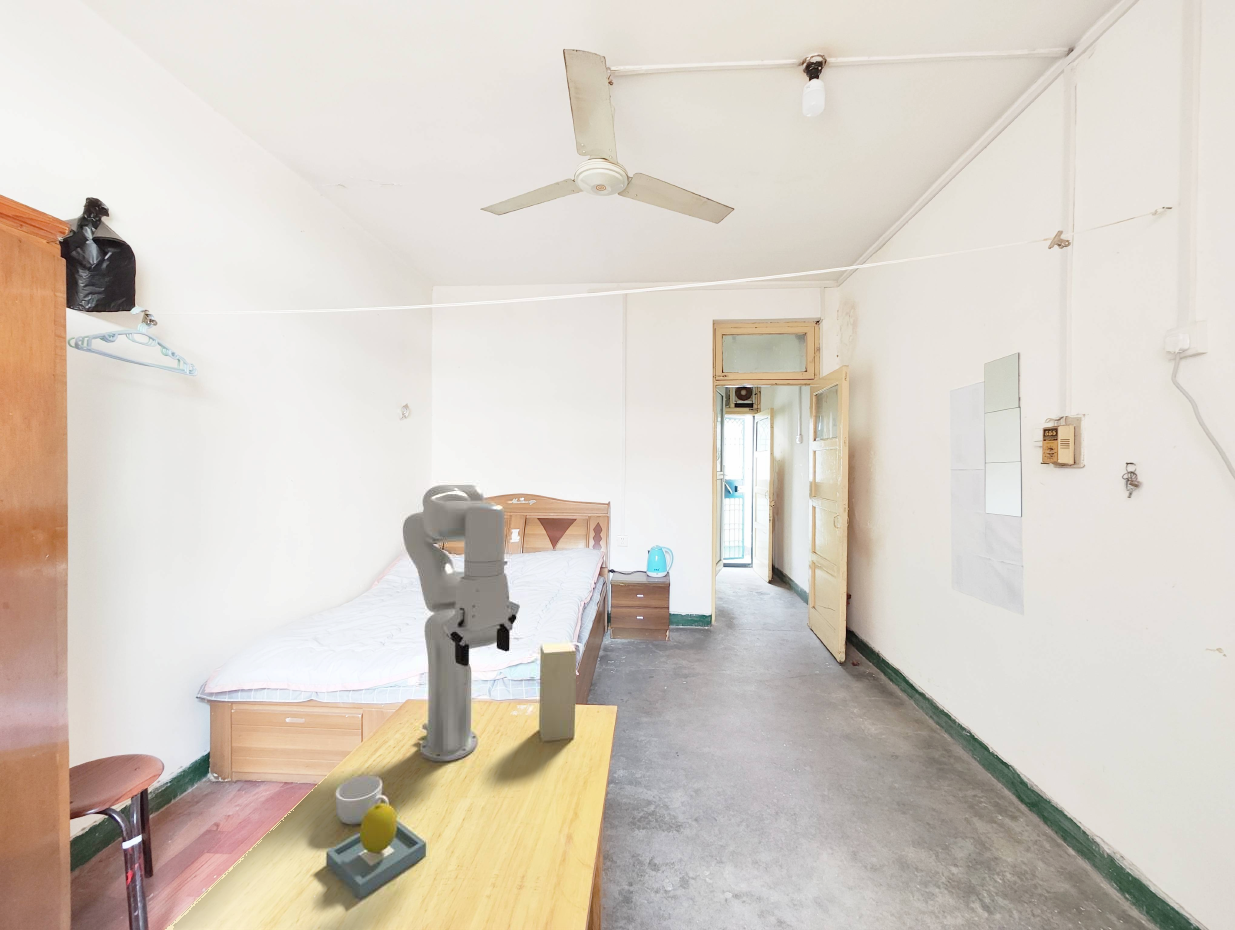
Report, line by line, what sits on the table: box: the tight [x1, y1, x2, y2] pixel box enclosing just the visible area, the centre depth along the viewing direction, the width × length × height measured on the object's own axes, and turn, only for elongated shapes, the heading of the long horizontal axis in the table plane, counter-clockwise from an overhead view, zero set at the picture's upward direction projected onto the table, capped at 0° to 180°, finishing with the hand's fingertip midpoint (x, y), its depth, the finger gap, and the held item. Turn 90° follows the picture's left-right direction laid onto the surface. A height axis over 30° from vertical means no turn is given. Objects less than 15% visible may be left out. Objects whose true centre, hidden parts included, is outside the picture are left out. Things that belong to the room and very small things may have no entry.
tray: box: [325, 820, 427, 900], centre depth 85 cm, size 11×11×2 cm
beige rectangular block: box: [538, 641, 577, 742], centre depth 127 cm, size 8×7×21 cm
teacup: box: [335, 774, 390, 826], centre depth 96 cm, size 10×8×5 cm
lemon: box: [359, 802, 398, 853], centre depth 85 cm, size 6×6×8 cm
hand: (483, 656), depth 100 cm, fingers open, 9 cm apart
